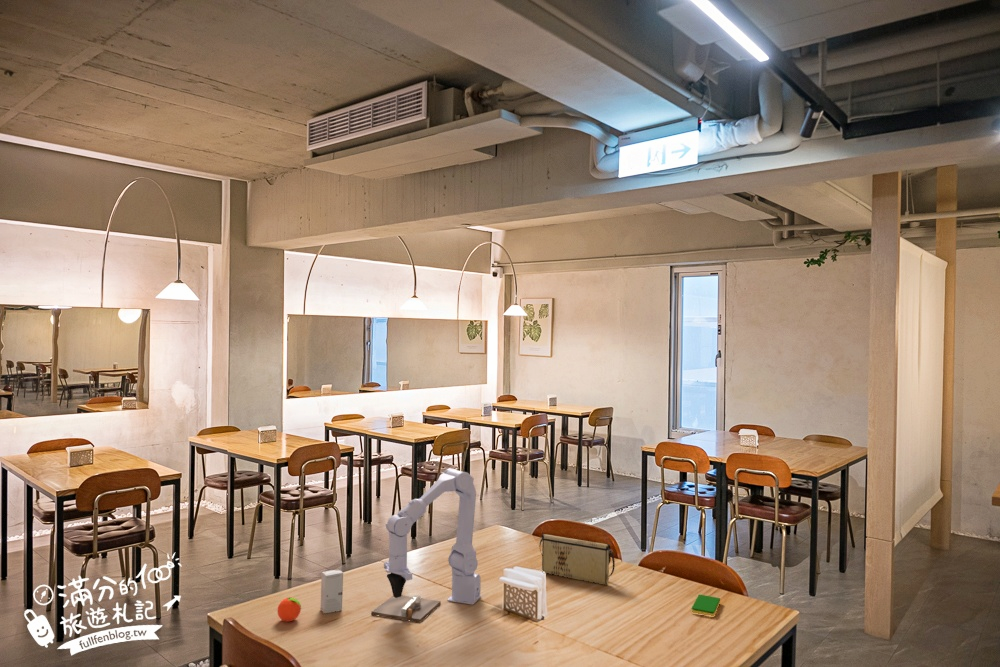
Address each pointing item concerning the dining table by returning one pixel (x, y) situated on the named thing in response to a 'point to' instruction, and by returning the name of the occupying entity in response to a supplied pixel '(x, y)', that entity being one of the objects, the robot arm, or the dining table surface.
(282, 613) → the clementine
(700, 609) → the dish sponge
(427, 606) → the base board
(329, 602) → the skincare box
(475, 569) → the robot arm
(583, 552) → the clutch purse
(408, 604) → the cap handle
